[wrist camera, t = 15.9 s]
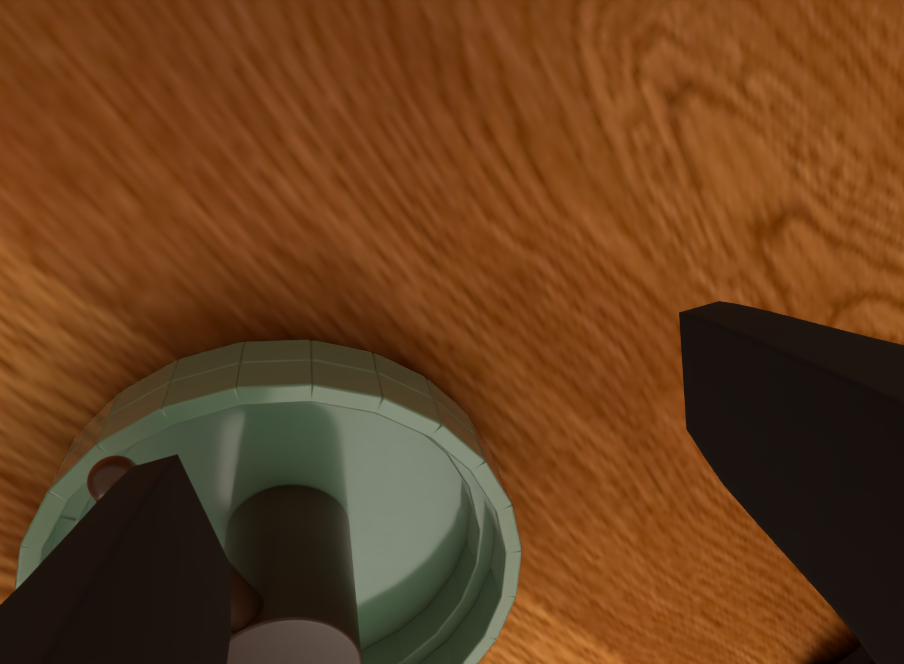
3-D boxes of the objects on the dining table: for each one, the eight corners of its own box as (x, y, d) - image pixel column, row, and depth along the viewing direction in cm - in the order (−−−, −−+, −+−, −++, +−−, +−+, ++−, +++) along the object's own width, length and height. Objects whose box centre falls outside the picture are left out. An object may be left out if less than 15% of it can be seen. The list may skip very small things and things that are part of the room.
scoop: (270, 597, 22) (262, 749, 17) (81, 396, 18) (9, 525, 13) (371, 543, 22) (389, 681, 17) (203, 328, 18) (170, 436, 13)
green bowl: (160, 721, 24) (142, 812, 21) (-38, 408, 18) (-97, 478, 15) (523, 607, 25) (550, 680, 22) (449, 277, 19) (473, 321, 16)
